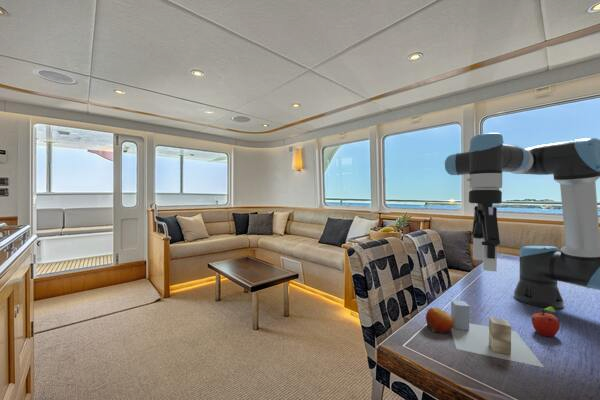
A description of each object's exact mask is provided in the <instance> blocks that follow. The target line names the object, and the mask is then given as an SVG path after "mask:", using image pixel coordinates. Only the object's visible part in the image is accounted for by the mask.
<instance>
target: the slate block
mask: <svg viewBox="0 0 600 400" xmlns="http://www.w3.org/2000/svg"><path fill="white" fill-rule="evenodd" d="M450 307H451V308H450V309H451V311H450V316H451V317H452V318H453V320H454V325H453V327H454V328H455V329H458V330H467V331H469V323H470V305H469V304H468V303H467V302H466V301H464V300H463V301H462V300H455V299H454V300H453V299H452V300H450Z"/></svg>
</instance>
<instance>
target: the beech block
mask: <svg viewBox="0 0 600 400" xmlns="http://www.w3.org/2000/svg"><path fill="white" fill-rule="evenodd" d="M488 327H489V345H490V347H491V349H492V351H494V352H498V353H503V354H508V355H511V331H512V325H511V324H510V323H509V322H508V320H507V319H504V318H503V319H502V318H497V317H490V316H489V317H488Z"/></svg>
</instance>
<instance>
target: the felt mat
mask: <svg viewBox="0 0 600 400" xmlns="http://www.w3.org/2000/svg"><path fill="white" fill-rule="evenodd" d="M450 332H451V335H452V339H453V342H454V345H455V349H456V350H459V351H464V352H468V353H472V354H477V355H478V354H479V355H483V356H487V357H493V358H495V359H496V358H497V359H502V360H507V361H511V362H515V363H521V364H526V365H530V366H535V367H540V368H545V366H544V365H543V364H542V363H541V361H540V360H539V359H538V357H537V356H536V355H535V353H534V352H533V351H532V350H531V349H530V348H529V345H527V343H526V342H525V341H524V340H523V338H522V337H521V336H520V335H519V334H518V332H517V331H515V330H511V355H508V354H503V353H498V352H494V351H492V349H491V347H490V345H489V325H482V324H475V323H471V322H469V331H467V330H458V329H455V328H454V327H452V329H451V330H450Z"/></svg>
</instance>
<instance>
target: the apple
mask: <svg viewBox="0 0 600 400" xmlns="http://www.w3.org/2000/svg"><path fill="white" fill-rule="evenodd" d="M540 310H541V312H536V313H535V312H534V313H533V314H532V315H531V323H532V327H533V328H534V330H535V332H536V333H537V334H538V335H540V336H543V337H547V338H548V337H549V338H555V336H556V335H557V334H558V332H559V330H560V328H561V327H560V326H561V325H560V320H559V319H558V318H557V317H556V316H555V315H553V314H551V313H553V312H554V313H555V312H556V310H555V308H553V307H547V308H545V307H542V308H541V309H540ZM545 311H546V312H545ZM547 312H551V313H547Z"/></svg>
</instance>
